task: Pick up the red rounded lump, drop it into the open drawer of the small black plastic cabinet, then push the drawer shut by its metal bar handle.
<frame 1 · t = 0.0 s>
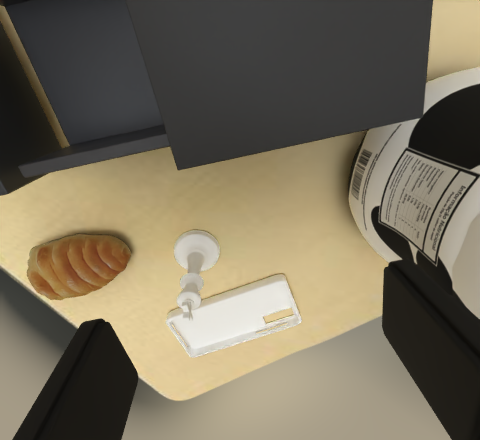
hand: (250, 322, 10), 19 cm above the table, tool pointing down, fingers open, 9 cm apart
phone case: (234, 312, 35), on the table
pastry: (84, 255, 30), on the table
drawer: (45, 75, 18), point 5 cm above the table, slide at 11.0 cm
milk container: (421, 167, 28), on the table
cabinet: (259, 35, 22), on the table
chess piece: (197, 248, 31), on the table
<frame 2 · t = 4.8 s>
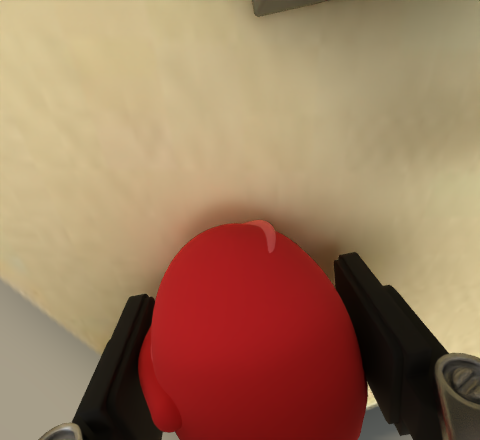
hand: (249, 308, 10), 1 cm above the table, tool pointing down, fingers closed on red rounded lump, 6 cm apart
red rounded lump: (245, 285, 11), on the table, touching gripper
when the fingers open (11 cm above the table, at t = 10.2 s): red rounded lump drops 8 cm, resting on drawer.
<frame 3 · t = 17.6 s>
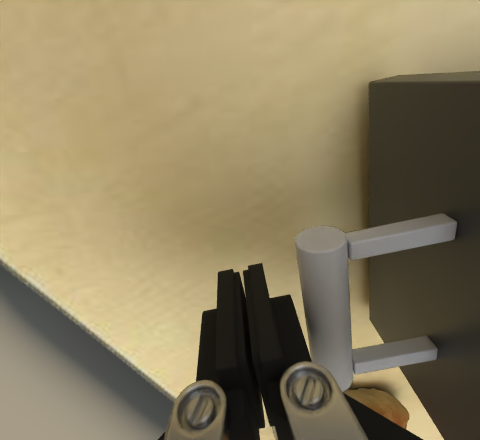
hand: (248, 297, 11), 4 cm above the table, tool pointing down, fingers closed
pastry: (323, 408, 21), on the table
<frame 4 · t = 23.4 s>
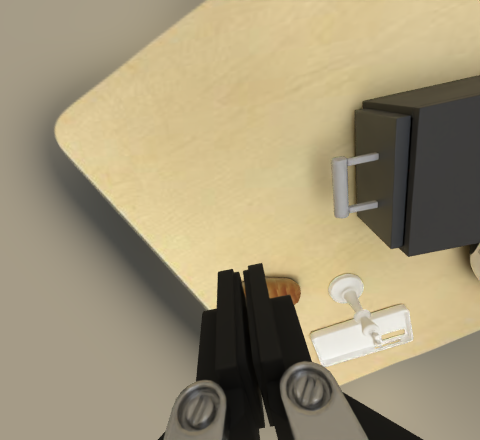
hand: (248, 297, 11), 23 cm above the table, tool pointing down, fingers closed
phone case: (359, 332, 45), on the table
pastry: (261, 291, 40), on the table
drawer: (418, 168, 28), point 5 cm above the table, slide at 0.0 cm, touching red rounded lump
cabinet: (426, 149, 32), on the table
chess piece: (344, 286, 41), on the table
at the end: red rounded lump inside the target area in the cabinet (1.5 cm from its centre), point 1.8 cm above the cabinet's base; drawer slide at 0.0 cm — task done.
